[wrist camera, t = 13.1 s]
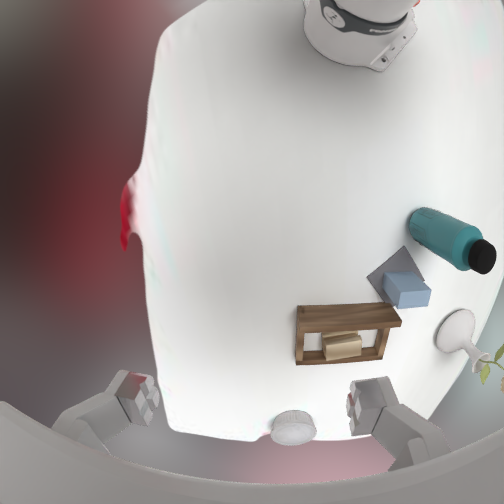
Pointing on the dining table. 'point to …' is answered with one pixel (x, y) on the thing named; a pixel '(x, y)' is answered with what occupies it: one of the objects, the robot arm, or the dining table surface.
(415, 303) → the light blue block
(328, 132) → the dining table surface
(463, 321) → the flower in vase
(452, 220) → the beverage bottle
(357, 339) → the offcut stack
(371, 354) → the brown wooden drawer
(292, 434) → the ramekin
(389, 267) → the mat
